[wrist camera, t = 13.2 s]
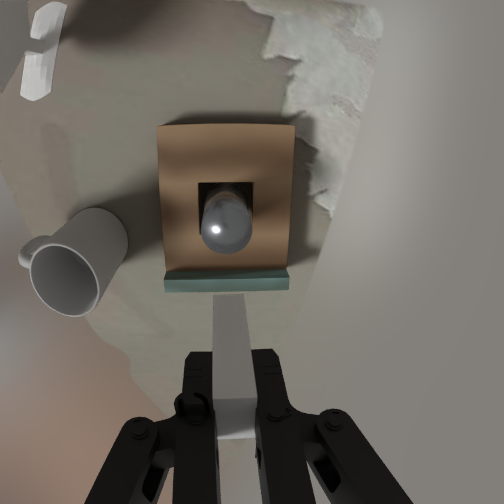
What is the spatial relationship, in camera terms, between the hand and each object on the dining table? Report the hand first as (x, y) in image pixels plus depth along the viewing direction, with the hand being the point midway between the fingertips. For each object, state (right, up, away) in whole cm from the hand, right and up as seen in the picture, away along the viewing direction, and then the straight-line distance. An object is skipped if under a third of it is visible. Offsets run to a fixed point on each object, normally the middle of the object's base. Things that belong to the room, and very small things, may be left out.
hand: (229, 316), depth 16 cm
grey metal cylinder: (-2, +9, +20) cm, 22 cm away
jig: (-2, +9, +20) cm, 22 cm away
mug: (-20, +5, +20) cm, 29 cm away
